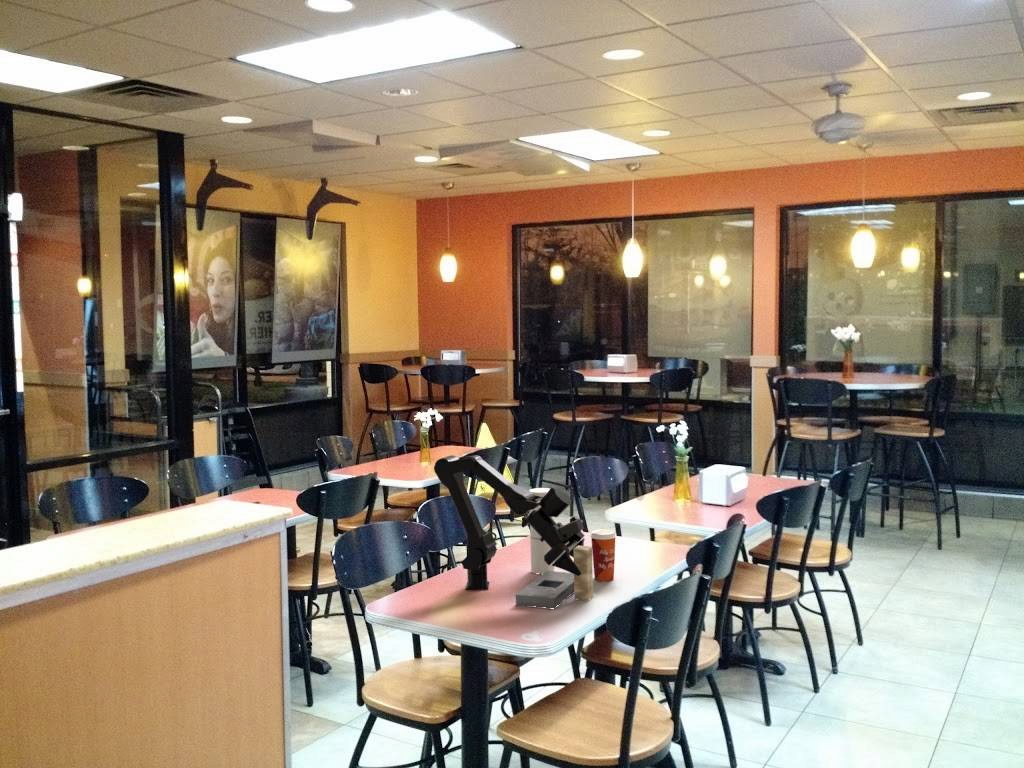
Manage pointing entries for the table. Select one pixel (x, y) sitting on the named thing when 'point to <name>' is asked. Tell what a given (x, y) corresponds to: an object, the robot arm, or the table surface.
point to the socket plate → (547, 590)
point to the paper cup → (603, 554)
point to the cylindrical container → (539, 542)
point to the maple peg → (583, 573)
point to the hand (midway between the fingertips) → (585, 570)
